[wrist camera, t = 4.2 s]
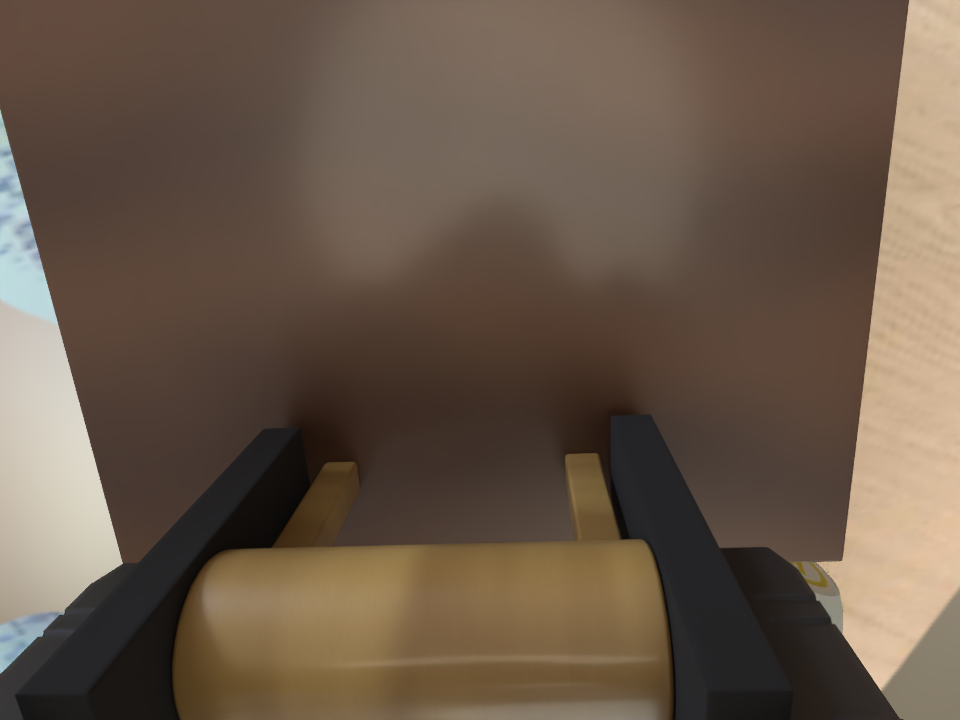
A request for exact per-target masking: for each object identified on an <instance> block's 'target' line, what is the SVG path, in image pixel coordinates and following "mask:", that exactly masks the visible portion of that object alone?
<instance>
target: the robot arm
mask: <svg viewBox="0 0 960 720" xmlns="http://www.w3.org/2000/svg"><path fill="white" fill-rule="evenodd" d="M309 488H310V482H309V475H308V469H307V463H306V457H305V451H304V445H303V438H302V432H301V427H296V428H270V429H263V430H262V431H261V432H260V433H259V434H258V435H257V436H256V437H255V438H254V439H253V441H252V442H251V443H250V444H249V445H248V446H247V447H246V448H245V449H244V450H243V451H242V452H241V453H240V454H239V456H238V457H237V458H236V459H235V460H234V461H233V462H232V463H231V464H230V465H229V466H228V467H227V468H226V469H225V471H224V472H223V473H222V474H221V475H220V476H219V477H218V478H217V479H216V480H215V481H214V482H213V483H212V484H211V486H210V487H209V488H208V489H207V490H206V491H205V492H204V493H203V494H202V495H201V496H200V497H199V498H198V499H197V500H196V502H195V503H194V504H193V505H192V506H191V507H190V508H189V509H188V510H187V511H186V512H185V513H184V514H183V515H182V517H181V518H180V519H179V520H178V521H177V522H176V523H175V524H174V525H173V526H172V527H171V528H170V529H169V530H168V532H167V533H166V534H165V535H164V536H163V537H162V538H161V539H160V540H159V541H158V542H157V543H156V544H155V545H154V547H153V548H152V549H151V550H150V551H149V552H148V553H147V554H146V555H145V556H144V557H143V558H142V559H141V560H140V561H139V563H124V564H122V565H120V566H119V567H117V568H116V569H114V570H112V571H111V572H109V573H108V574H107V575H105V576H103V577H101V578H100V579H98V580H97V581H95V582H94V583H92V584H90V585H89V586H88V587H87V588H86V589H85V590H84V591H83V592H82V593H81V594H80V595H79V596H78V598H76V599H75V600H74V601H73V602H72V603H71V604H70V606H68V607H67V608H66V609H65V614H64V615H59V616H58V617H57V618H56V619H55V620H54V621H53V622H52V623H51V624H50V625H49V626H48V627H47V628H46V629H45V630H44V634H43V636H42V637H37V638H36V639H35V640H34V641H33V642H32V643H31V644H30V645H29V646H28V647H27V648H26V649H25V650H24V651H23V652H22V653H21V654H20V655H19V656H18V657H17V658H16V659H15V660H14V661H13V662H12V663H11V664H10V665H9V666H8V667H7V668H6V669H5V670H4V671H3V672H2V673H1V674H0V720H180V718H179V716H178V713H177V710H176V706H175V701H174V696H173V687H172V659H173V650H174V642H175V636H176V631H177V626H178V622H179V618H180V614H181V611H182V608H183V605H184V602H185V599H186V597H187V594H188V592H189V590H190V587H191V585H192V583H193V581H194V580H195V578H196V576H197V574H198V573H199V571H200V570H201V568H202V567H203V566H204V565H205V563H206V562H207V561H208V560H209V559H210V558H212V557H213V556H214V555H216V554H217V553H219V552H221V551H224V550H227V549H255V548H271V547H272V546H273V544H274V543H275V541H276V540H277V538H278V536H279V535H280V533H281V532H282V530H283V529H284V527H285V525H286V524H287V522H288V521H289V519H290V518H291V516H292V515H293V513H294V511H295V510H296V508H297V507H298V505H299V504H300V502H301V500H302V499H303V497H304V496H305V494H306V493H307V491H308V490H309ZM611 500H612V504H613V507H614V511H615V514H616V518H617V522H618V525H619V529H620V533H621V536H622V540H625V539H642V540H645V541H646V542H647V543H648V544H649V545H650V547H651V549H652V552H653V554H654V556H655V559H656V562H657V565H658V568H659V572H660V576H661V580H662V584H663V589H664V594H665V599H666V605H667V611H668V617H669V624H670V632H671V641H672V651H673V663H674V685H675V702H674V715H673V720H903V719H900V718H899V717H898V716H897V714H896V713H895V711H894V710H893V708H892V707H891V705H890V704H889V702H888V701H887V699H886V698H885V696H884V695H883V694H882V692H881V691H880V689H879V688H878V686H877V685H876V683H875V682H874V680H873V679H872V677H871V676H870V674H869V673H868V671H867V670H866V669H865V667H864V666H863V664H862V663H861V661H860V660H859V658H858V657H857V655H856V654H855V652H854V651H853V649H852V648H851V646H850V645H849V643H848V642H847V641H846V639H845V638H844V636H843V635H842V633H841V632H840V630H839V629H838V627H837V626H836V624H832V621H831V617H830V616H829V614H828V613H827V611H826V610H825V608H824V607H823V605H822V604H821V602H820V601H817V600H816V595H815V593H814V592H813V590H812V589H811V588H810V586H809V585H808V583H807V582H806V580H805V579H804V577H803V576H802V574H801V573H800V571H799V570H798V569H797V568H796V567H795V566H793V565H792V564H791V563H789V562H788V561H786V560H785V559H784V558H782V557H781V556H780V555H778V554H777V553H776V552H774V551H773V550H771V549H770V548H769V547H741V548H719V546H718V544H717V542H716V540H715V538H714V536H713V534H712V532H711V530H710V528H709V526H708V524H707V522H706V520H705V518H704V517H703V515H702V513H701V511H700V509H699V507H698V505H697V503H696V501H695V499H694V497H693V495H692V493H691V491H690V489H689V487H688V485H687V484H686V482H685V480H684V478H683V476H682V474H681V472H680V470H679V468H678V466H677V464H676V462H675V460H674V458H673V456H672V454H671V453H670V451H669V449H668V447H667V445H666V443H665V441H664V439H663V437H662V435H661V433H660V431H659V429H658V427H657V425H656V423H655V421H654V420H653V418H652V416H651V414H646V415H620V416H611Z"/></svg>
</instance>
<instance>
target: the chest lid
mask: <svg viewBox="0 0 960 720" xmlns="http://www.w3.org/2000/svg"><path fill="white" fill-rule="evenodd" d="M908 4H909V0H0V110H1V114H2V117H3V121H4V125H5V128H6V132H7V136H8V140H9V143H10V147H11V151H12V154H13V158H14V162H15V165H16V169H17V173H18V177H19V180H20V184H21V188H22V191H23V195H24V199H25V202H26V206H27V210H28V214H29V217H30V221H31V225H32V228H33V232H34V236H35V240H36V243H37V247H38V251H39V254H40V258H41V262H42V265H43V269H44V273H45V277H46V280H47V284H48V288H49V291H50V295H51V299H52V302H53V306H54V310H55V314H56V317H57V321H58V325H59V328H60V331H61V335H62V339H63V343H64V347H65V351H66V354H67V358H68V362H69V365H70V369H71V373H72V376H73V380H74V384H75V387H76V391H77V395H78V399H79V402H80V406H81V410H82V413H83V417H84V421H85V424H86V428H87V432H88V435H89V439H90V443H91V447H92V451H93V454H94V458H95V462H96V465H97V469H98V473H99V476H100V480H101V484H102V488H103V491H104V495H105V499H106V502H107V506H108V510H109V513H110V517H111V521H112V525H113V528H114V532H115V536H116V539H117V543H118V547H119V551H120V554H121V558H122V562H123V564H124V563H139V561H140V560H141V559H142V558H143V557H144V556H145V555H146V554H147V553H148V552H149V551H150V550H151V549H152V548H153V547H154V545H155V544H156V543H157V542H158V541H159V540H160V539H161V538H162V537H163V536H164V535H165V534H166V533H167V532H168V530H169V529H170V528H171V527H172V526H173V525H174V524H175V523H176V522H177V521H178V520H179V519H180V518H181V517H182V515H183V514H184V513H185V512H186V511H187V510H188V509H189V508H190V507H191V506H192V505H193V504H194V503H195V502H196V500H197V499H198V498H199V497H200V496H201V495H202V494H203V493H204V492H205V491H206V490H207V489H208V488H209V487H210V486H211V484H212V483H213V482H214V481H215V480H216V479H217V478H218V477H219V476H220V475H221V474H222V473H223V472H224V471H225V469H226V468H227V467H228V466H229V465H230V464H231V463H232V462H233V461H234V460H235V459H236V458H237V457H238V456H239V454H240V453H241V452H242V451H243V450H244V449H245V448H246V447H247V446H248V445H249V444H250V443H251V442H252V441H253V439H254V438H255V437H256V436H257V435H258V434H259V433H260V432H261V431H262V430H263V429H270V428H296V427H301V432H302V438H303V445H304V451H305V457H306V463H307V469H308V475H309V482H310V488H309V490H308V491H307V493H306V494H305V496H304V497H303V499H302V500H301V502H300V504H299V505H298V507H297V508H296V510H295V511H294V513H293V515H292V516H291V518H290V519H289V521H288V522H287V524H286V525H285V527H284V529H283V530H282V532H281V533H280V535H279V536H278V538H277V540H276V541H275V543H274V544H273V546H272V547H271V548H255V549H227V550H224V551H221V552H219V553H217V554H216V555H214V556H213V557H212V558H210V559H209V560H208V561H207V562H206V563H205V565H204V566H203V567H202V568H201V570H200V571H199V573H198V574H197V576H196V578H195V580H194V581H193V583H192V585H191V587H190V590H189V592H188V594H187V597H186V599H185V602H184V605H183V608H182V611H181V614H180V618H179V622H178V626H177V631H176V636H175V642H174V650H173V659H172V687H173V696H174V701H175V706H176V710H177V713H178V716H179V718H180V720H673V715H674V702H675V685H674V663H673V651H672V641H671V632H670V624H669V617H668V611H667V605H666V599H665V594H664V589H663V584H662V580H661V576H660V572H659V568H658V565H657V562H656V559H655V556H654V554H653V552H652V549H651V547H650V545H649V544H648V543H647V542H646V541H645V540H642V539H625V540H622V536H621V533H620V529H619V525H618V522H617V518H616V514H615V511H614V507H613V504H612V500H611V416H620V415H646V414H651V416H652V418H653V420H654V421H655V423H656V425H657V427H658V429H659V431H660V433H661V435H662V437H663V439H664V441H665V443H666V445H667V447H668V449H669V451H670V453H671V454H672V456H673V458H674V460H675V462H676V464H677V466H678V468H679V470H680V472H681V474H682V476H683V478H684V480H685V482H686V484H687V485H688V487H689V489H690V491H691V493H692V495H693V497H694V499H695V501H696V503H697V505H698V507H699V509H700V511H701V513H702V515H703V517H704V518H705V520H706V522H707V524H708V526H709V528H710V530H711V532H712V534H713V536H714V538H715V540H716V542H717V544H718V546H719V548H741V547H769V548H770V549H771V550H773V551H774V552H776V553H777V554H778V555H780V556H781V557H782V558H784V559H785V560H786V561H788V562H821V561H842V558H843V550H844V541H845V533H846V525H847V516H848V508H849V499H850V491H851V483H852V474H853V466H854V457H855V449H856V441H857V432H858V424H859V415H860V407H861V399H862V390H863V382H864V374H865V365H866V357H867V348H868V340H869V332H870V323H871V315H872V306H873V298H874V290H875V281H876V273H877V264H878V256H879V248H880V239H881V231H882V222H883V214H884V206H885V197H886V189H887V180H888V172H889V164H890V155H891V147H892V139H893V130H894V122H895V113H896V105H897V97H898V88H899V80H900V71H901V63H902V55H903V46H904V38H905V29H906V21H907V13H908Z"/></svg>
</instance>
